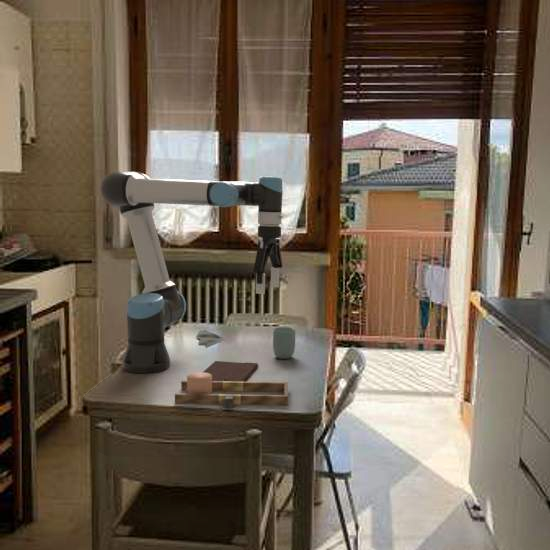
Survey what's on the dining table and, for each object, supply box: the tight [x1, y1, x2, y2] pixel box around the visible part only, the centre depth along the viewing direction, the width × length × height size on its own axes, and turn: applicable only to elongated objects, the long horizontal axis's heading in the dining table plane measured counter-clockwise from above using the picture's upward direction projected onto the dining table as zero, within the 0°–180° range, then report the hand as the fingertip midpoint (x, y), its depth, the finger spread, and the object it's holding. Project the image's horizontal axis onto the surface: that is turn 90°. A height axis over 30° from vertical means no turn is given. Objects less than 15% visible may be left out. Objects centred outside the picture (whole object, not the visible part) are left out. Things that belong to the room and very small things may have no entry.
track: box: [174, 380, 289, 409], centre depth 170 cm, size 31×14×2 cm, turn 89°
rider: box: [186, 371, 213, 394], centre depth 171 cm, size 7×7×6 cm
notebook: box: [202, 360, 259, 382], centre depth 191 cm, size 15×20×2 cm
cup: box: [272, 326, 296, 360], centre depth 210 cm, size 8×8×10 cm
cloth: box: [195, 329, 226, 348], centre depth 235 cm, size 26×14×2 cm, turn 176°
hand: (267, 290), depth 197 cm, fingers open, 13 cm apart
